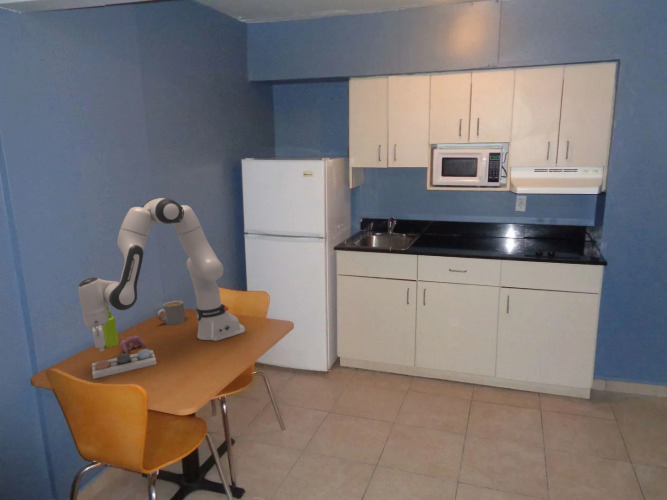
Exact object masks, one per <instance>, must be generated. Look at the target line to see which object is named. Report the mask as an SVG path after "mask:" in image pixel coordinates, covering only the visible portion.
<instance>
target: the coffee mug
mask: <svg viewBox="0 0 667 500" xmlns="http://www.w3.org/2000/svg"><path fill="white" fill-rule="evenodd" d="M184 307H185V306H184V301H181V300H172V301H168V302H165V303H164V304H162V309H160V310H158V311H157V314H156V315H157V318H158V320H159V321H161V322H165V325H167V326H176V325H177V326H178V325H180V324H183V323H185V322H186V314H185V308H184ZM162 313H163V317H161V314H162Z"/></svg>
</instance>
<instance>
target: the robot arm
mask: <svg viewBox="0 0 667 500" xmlns="http://www.w3.org/2000/svg"><path fill="white" fill-rule="evenodd" d="M154 224H159V225H164V224H165V225H168V224H170V225H172V227H174V229H175V233H176V235H177V238H178V240H179V243H180V244H181V246H182V249H183V251H184V252H185V253H186V254H187V256H188V259H187V260H186V269H187V270H188V273H189V276H190V279H191V283H192V286H193V289H194V295H195V301H196V307H195V308H196V310H195V311H196V319H197V321H198V323H197V325H198V326H197V334H196V338H197V339H199V340H202V341H214V342H218V341H220V340H223V339H227V338H230V337H231V338H232V337H233V336H237V335H240V334H243V333H245V332H246V329H245V328H246V327H245V326H244V325H243V324H241V323H240V322H239V318H238V317H237V316H236V315H234V314H232V313H231V312H229V307H228V306H227V305H225V304H223V303H221V300H222V299H221V293H220V288H219V286H218V283H217V280H219V279H220V278H222V276H223V274H224V266H223V263H221V261H220V260H219V258H218V256H217V255H216V253H215V252H214V250H213V248H212V246H211V245H210V243H209V241H208V240H207V237H206V234H205V232H204V230H203V227H202V225H201V224H200V220H199V219H198V217H197V215H196V213H195V212H194V210H193V209H192V207H190V206H189V205H186V204H182V205H180V204H179V203H178V202H177V201H175V200H174V199H172V198H165V197H158V198H153V199H150V200H148V201H146V202H145V203H144V204H143V205H142V206H133V207H131V208H130V209H129V210H128V211H127V213H126V215H125V217H124V219H123V222H122V223H121V225H120V229H119V232H118V235H117V243H116V244H117V247H118V249H119V250H120V252H121V253H122V256H123V258H124V264H123V268H122V272H121V276H120V280H119V281H117V280H105V279H101V278H99V277H90V278H86V279H85V280H82V282H80V283H79V284H78V289H77V290H78V291H77V292H78V298H79V304H80V306H81V308H82V309H81V314H82V319H83V324H84V326H86V327H88V328H89V329H90V330H92V331H91V332H92V336H93V337H92V338H93V342H94V346H95V348H96V349H98V350H99V352H104V351H105V336H104V326H105V325H106V322H107V321H108V315H107V309H106V307H107V306H108V305H109V306H112V307H113V308H115V309H116V310H117V311H118V310H119V311H126V310H129V309H131V308H132V307H133V306H134V305H135V304H136V303H137V299H138V291H137V289H138V287H137V286H138V281H139V276H140V272H141V268H142V264H143V258H144V253H145V248H146V247H145V246H146V243H147V240H148V236H149V234H150V230H151V228H152V227H153V226H154ZM109 306H108V307H109Z"/></svg>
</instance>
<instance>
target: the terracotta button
mask: <svg viewBox="0 0 667 500" xmlns="http://www.w3.org/2000/svg"><path fill="white" fill-rule="evenodd" d="M97 362H98V363H97V364H96V369H97V370H101V369H105V368H110V363H109V361H105V360H101V361H97Z"/></svg>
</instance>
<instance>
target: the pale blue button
mask: <svg viewBox="0 0 667 500" xmlns="http://www.w3.org/2000/svg"><path fill="white" fill-rule="evenodd" d="M136 354H138V360H137V361H140V360H145V359H149V358H152V357H151V355H150V349H149V348H143V349H140V350H137V352H136Z"/></svg>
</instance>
